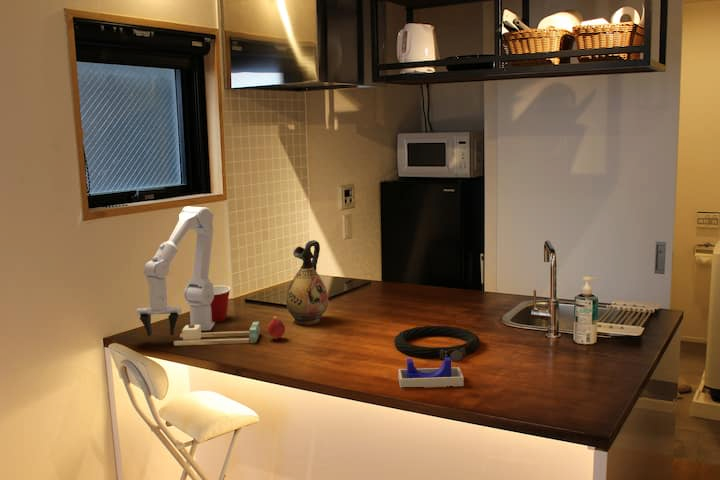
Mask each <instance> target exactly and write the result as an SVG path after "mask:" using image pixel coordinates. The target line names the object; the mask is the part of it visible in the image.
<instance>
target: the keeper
mask: <svg viewBox="0 0 720 480" xmlns="http://www.w3.org/2000/svg"><path fill="white" fill-rule="evenodd" d="M181 333H182V336H183V338H182V340H202V337H201V333H202V331H201V325H194V324H191V323H190V324H185V326H184V327H182V329H181Z"/></svg>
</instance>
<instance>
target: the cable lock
mask: <svg viewBox="0 0 720 480" xmlns="http://www.w3.org/2000/svg"><path fill="white" fill-rule="evenodd" d="M437 336H441V337H448V338H450V337H452V338H456V339H460V340H464V341H465V343H463V344H457V345H453V346H452V345H451V346H440V347H439V346H438V347H437V346H435V347H432V346H423V345H416V344H412V343H409V342H408V341H410V340H413V339H416V337H417V338H423V337H437ZM480 341H481V340H480V337H479V336H478V335H477V334H476V333H475V332H473V331H472V330H469V329H465V328H462V327H460V326H459V327H456V326H450V325H423V326H415V327H412V328H407V329H403V330H402V331H400V332H399V333H398V334H397V335H396V336H395V338H394V340H393V343H394V347H395V348H396V350H398V351H400V352H401V353H403V354H405V355H408V356H411V355H412V356H411V357H415V356H416V358H422V359H429V358H431V359H432V360H433V358H434V359H439V358H440V360H442V359H444V357H450V359H451V360H452V361H451V362H459V360H460V361H461V360H462V358H465V356H467V355H469V354H472V353H474V352H475V351H477V350H478V349H479V347H480V344H481V342H480ZM441 358H442V359H441Z"/></svg>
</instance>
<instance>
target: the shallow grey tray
mask: <svg viewBox="0 0 720 480" xmlns="http://www.w3.org/2000/svg"><path fill="white" fill-rule="evenodd" d="M439 368H440V367H426V368H425V367H424V368H422V367H421V368H416V369H417V370H418V371H420V372H422V373H433V372H435V371H437V370H438V369H439ZM397 371H398V373H397V375H398V382H399V388H400V389H402V388H401V387H424V388H447V386H448V387H449V386H453V387H464V385H465V384H464V382H465V381H464V376H463V372H462V371H461V369H460V367H459V366H457V367H454V366H453V367H452V366H451V377H446V376H447V375H446V376H445V377H436V378H407V368H398V370H397ZM403 377H404V378H403Z"/></svg>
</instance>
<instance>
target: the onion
mask: <svg viewBox="0 0 720 480" xmlns="http://www.w3.org/2000/svg"><path fill="white" fill-rule="evenodd" d="M285 327H286V326H285V324H284V323H283V321H282V320H281V319H279V318H278V317H277V316H273V319H272V320H271V321H270V322H269V323H268V326H267V333H268V334H269V336H271V337H272V338H273V340H276V341H277V340H278V339H280V338H281V337H283V336H284V334H285V333H286V328H285Z"/></svg>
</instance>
